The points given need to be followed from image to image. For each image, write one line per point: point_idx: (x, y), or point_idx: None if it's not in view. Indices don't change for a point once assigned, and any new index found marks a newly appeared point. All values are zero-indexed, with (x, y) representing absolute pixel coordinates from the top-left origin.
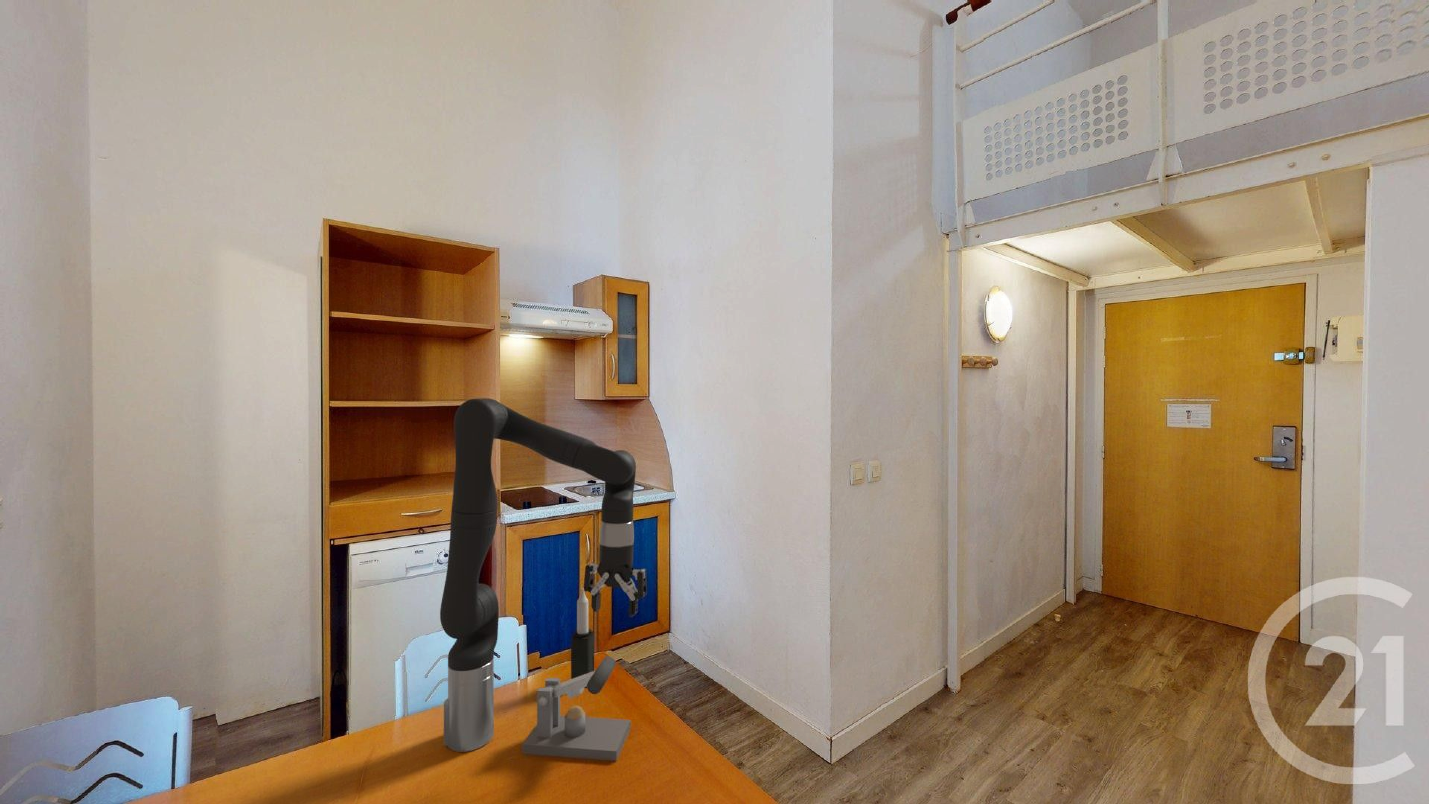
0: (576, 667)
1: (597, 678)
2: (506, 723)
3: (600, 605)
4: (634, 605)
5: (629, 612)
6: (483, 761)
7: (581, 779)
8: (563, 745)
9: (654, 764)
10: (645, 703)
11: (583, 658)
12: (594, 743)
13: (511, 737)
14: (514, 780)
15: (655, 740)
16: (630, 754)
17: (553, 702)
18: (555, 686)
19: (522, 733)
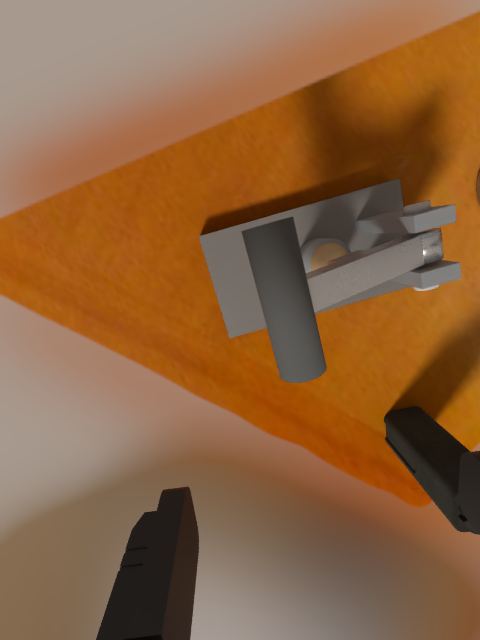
0: (433, 432)
1: (263, 234)
2: (476, 252)
3: (477, 529)
4: (120, 594)
5: (175, 513)
6: (450, 130)
7: (232, 160)
8: (313, 209)
9: (125, 256)
10: (245, 413)
11: (430, 450)
12: None
13: None
14: (356, 104)
15: (163, 320)
16: (185, 264)
17: None
18: (415, 255)
19: None
